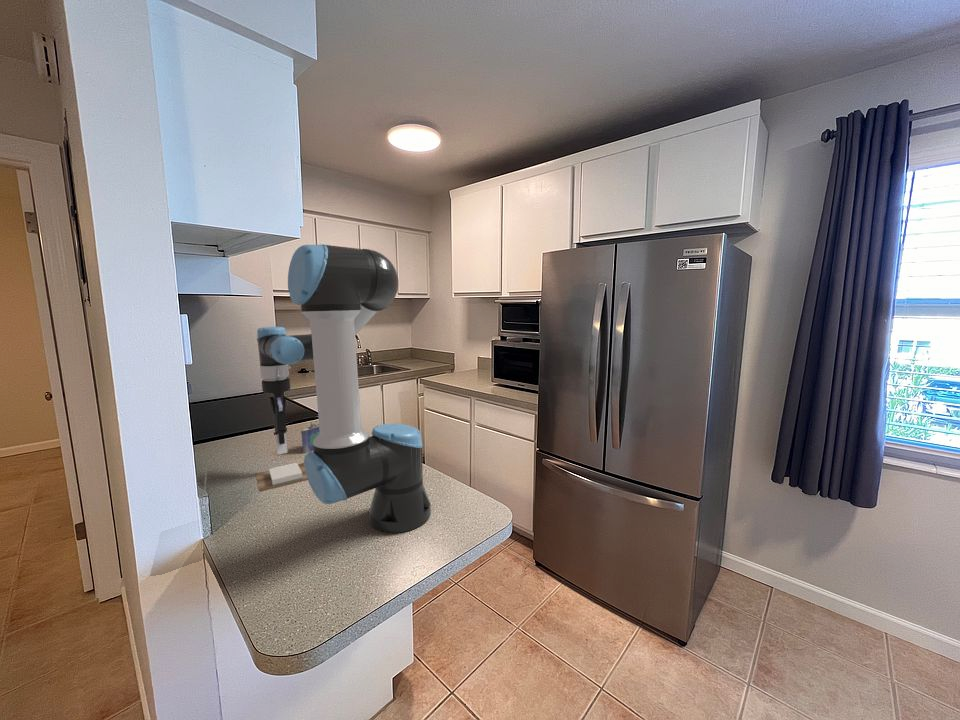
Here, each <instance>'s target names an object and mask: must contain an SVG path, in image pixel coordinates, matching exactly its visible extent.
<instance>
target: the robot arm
mask: <svg viewBox="0 0 960 720" xmlns="http://www.w3.org/2000/svg"><path fill="white" fill-rule="evenodd" d="M398 276H399V275H398V272H397V270H396V268H395V266H394V265H393V263H392V262H391V260H390V259H389V258H388V257H386V256H385V255H384V254H382V253H381V252H378V251H376V250H373V249H370V248H357V247H347V246H339V245H330V244H303V245H300V246H299V247H298V248H297V249H295V250H294V253H293V254H292V257H291V259H290V262H289V266H288V271H287V290H288V294H289V298H290V300H291V301H292V303H294V304H295V305H299V306H300V310H301V314H302V315H303V316H304V317H306V318H307V319H308V320H309V323H310V332H311V333H309V334H306V333H305V334H295V335H293V334H292V335H287V331H286V328H285V327H284V326H263V327H259V328H257V331H256V332H257V335H256V336H257V337H256V341H257V345H258V346H257V348H258V355H259V370H260V379H262V380H261V390H262V392H263V393H264V394H271V396H270V397H269V402H270V406H271V411H272V417H273V428H274V432H273V435H274V436H275V443H276V453H277V455H282V454H283V455H284V454H288V444H287V443H288V442H287V431H288V428H287V417H286V411H287V410H286V407H287V405H286V403H287V400H286V397H285V395H283V393H285V392H286V393H287V392H288V391H290V390H291V380H290V379H291V378H289V376H290V371H289V370H291V368H292V367H291V366H290V365H295V364H296V363H298V362H304V361H313V367H314V380H315V392H316V402H317V403H316V404H317V413H318V414H317V415H318V417H317V418H318V424H319V429H320V433H319V435H318V436H317V437H316V438H315V439H314V440H313V450H314V451H311V452H309V453H306V454H305V455H304V460H303V463H304V467H305V472H306V475H307V478H308V480H307V482H308V484H309V485H310V489H311V490H312V492H313V494H314V495H315V497H316V499H318V500H319V502H321V503H323V504H325V505H332V504H333V505H334V503H338V502H342V501H344V502H345V501H347V500H348V499H350V498H353V497H355V496H359V495H361V494H363V493H367V492H369V491H371V490H374V493H373V496H372V500H371V503H370V508H369V512H368V515H369V516H368V517H369V524H370V525H371V526H372V527H373V528H374V529H375V530H378V531H379V532H380V531H381V532H383V533H391V534H393V533H394V534H395V533H397V534H398V533H404V532H405V533H406V532H410V531H413V530H415V529H417V528H419V527H421V526H423V525H424V524H425V523H426V522H427V521H429V519H430V517H431V514H432V508H431V507H432V505H431V502H430V499H429V496H428V494H427V491H426V489H425V486H424V477H423V475H424V474H423V472H424V469H423V446H424V445H423V441H422V434H421V431H420V429H418V428H416V427H414V426H412V425H408V424H403V423H383V424H378V425H377V426H375V427H373V428H372V429H371V436H370V433H369V431H367V430H365V429H364V428H363V427H362V414H361V403H360V402H361V401H360V388H359V374H358V373H359V372H358V359H357V346H356V345H357V343H356V335H358V333H359V332H361V330H362V329H363V328H364V327H365V326H366V325H367V324H368V322H369V321H370V320H371V319H372V318H373V317H374V316H375V315H376V313H378V312H382V311H385V309H387V308H388V307H389V305H391V303H392V302H393V301H394V300H395V297H396V296H397V293H398V291H399V290H398V289H399V277H398Z"/></svg>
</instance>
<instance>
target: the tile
mask: <svg viewBox="0 0 960 720" xmlns="http://www.w3.org/2000/svg"><path fill="white" fill-rule="evenodd" d="M298 464H299V463H298V462H294V463H289V464H285V465H279V466H276V467H271V468H268V471H269V475H270V478H271V482H272V485H278V484H282V483H286V482H290V481H294V480H298V479H303V478H302V472H301V470H300V468H299V466H298Z"/></svg>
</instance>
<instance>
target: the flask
mask: <svg viewBox="0 0 960 720" xmlns="http://www.w3.org/2000/svg"><path fill="white" fill-rule="evenodd" d="M300 433H301V444H302V453H303V454H308V453H309V452H313V451H314V450H313V440H314V439H315V438H316V437H317V436H318V435H319V433H320V429H319V423H315V422H314V421H311V422H310V426H308V427H305V428H303V429H301V432H300Z"/></svg>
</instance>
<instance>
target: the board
mask: <svg viewBox="0 0 960 720" xmlns="http://www.w3.org/2000/svg"><path fill="white" fill-rule="evenodd" d="M297 464H298V466H299V468H300V470H301V472H302V478H303V479H298V480H294V481H290V482H286V483H282V484H278V485H272V482H271V478H270V475H269V470H266V471H259V472H256V473H255V477H256V482H257V483H256V484H257V487H258V491H259V493H260V492H266V491H269V490H273V489H278V488H281V487H285V486H289V485H293V484H297V483H302V482H306V481H308V478H307V475H306V472H305V467H304V462H302V463H301V462H300V463H297Z"/></svg>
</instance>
